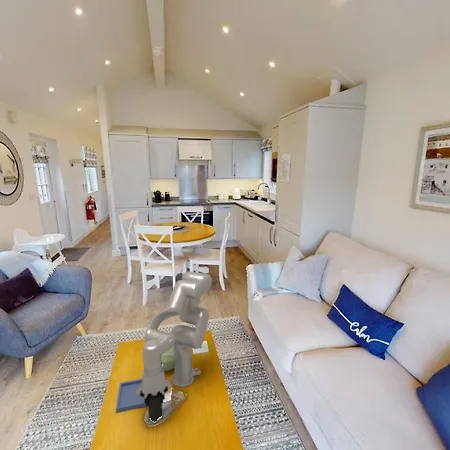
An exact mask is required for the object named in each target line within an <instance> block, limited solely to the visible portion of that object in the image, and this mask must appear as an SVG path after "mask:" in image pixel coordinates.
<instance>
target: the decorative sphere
mask: <svg viewBox="0 0 450 450" xmlns="http://www.w3.org/2000/svg"><path fill="white" fill-rule="evenodd" d="M161 363H163V364H164V363H165V367H163V368H164V372H165V371H166V372H167V371H168V372H169V371H170V370H172V369H174V349H173V347H172V348H171V349H170V350H168V351H167V352H165V353H164V354H162V355H161Z"/></svg>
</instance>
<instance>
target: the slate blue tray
mask: <svg viewBox="0 0 450 450" xmlns="http://www.w3.org/2000/svg"><path fill="white" fill-rule="evenodd" d="M141 384H142V378H138V379H133V380H129V381H127V380H126V381H122V382H119V387H118V393H117V398H116V404H115V405H116V406H115V413H116V414H118V413H121V412H128V411H131V410H136V409H141V408H145V407H147V406H146V403H145V402H144V399H143V397H141V396H140V395H138V394H137V393H136V390H137V389H138V388H139V386H140V385H141ZM141 391H142V390H141Z"/></svg>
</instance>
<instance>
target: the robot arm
mask: <svg viewBox="0 0 450 450" xmlns="http://www.w3.org/2000/svg"><path fill="white" fill-rule="evenodd" d="M212 283H213V278H212V276H211V275H209V274H207V273H202V272H201V273H200V272H195V271H185V272H183V274H182V275H181V279H179V280H177V281H176V282H175V284H174V286H173V289H172V291H171V293H170V297H169V299H168V301H167V304H166V305H165V307H164V308H162V310H160V311H159V312H157V313H156V315H154V317H153V318H152V319H151V320H150V321H149V324H148V326H147V329H146V331H145V334H144V344H143V345H142V356H143V357H142V358H143V359H142V360H143V369H142V374H141V379H142V384H141V385H140V386H139V388H138V389H137V390H136V393H137V394H138V395H140V396H141V397H143V399H144V402H145V403H146V407H148V396H147V395H148V394H149V393H154V392H159V391H160V392H161V397H162V404H163V403H164V400H165V399H166V397H165V395H166V393H167V392H168V391H169V390H170V389H171V388H172V384H173V385H174V386H176V387H179V388H186V387H189V386H191V385H192V384H193V383H194V381H195V379H196V376H198V375H201V373H202V372H201V369H200V370H199V369H198V367H196V368H193V365H192V364H193V363H192V361H193V358H192V356H193V355H192V353H193V351H192V349H195V350H198V349H200V348H202V345H203V343H204V340H205V336H206V332H207V329H208V324H209V320H210V314H209V311H208V309H207V308H206V307H202V306H201V307H200V306H199V304H200V300H201V298H202V297H203V296H204V294H206V293H207V292H208V291H209V289H210V288H211V286H212ZM177 316H179V321H181V322H182V323H186V324H187V325H185V324H177V325H174V326H173V328H171V333H170V332H166V331H163V330H159V329H158V328H159V327H160V325H161V324H162V323H163V322H164V321H165V320H168V319H169V318H174V317H177ZM188 325H192V326H193V325H194V326H195V327H192V326H188ZM172 347H173V349H174V368H173V369H174V372H173V373H172V375H171V381H172V382H171V381H169V380H167V379H166V374H165V373H166V372H165V371H164V368H163V367H165V363H164V364H163V363H161V355H162V354H164V353H165V352H167V351H168V350H170V349H171V348H172ZM141 390H142V391H141Z"/></svg>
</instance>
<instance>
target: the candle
mask: <svg viewBox="0 0 450 450" xmlns="http://www.w3.org/2000/svg"><path fill="white" fill-rule="evenodd" d="M147 396H148V406H147V408H148V409H147V411H148V419H149V418H151V420H152V421H154V422H155V421H157V419H158V418H159V417H161V416H162V415H163V403H162V397H161V391H159V392H154V393H149V394H148V395H147ZM157 422H158V421H157Z"/></svg>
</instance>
